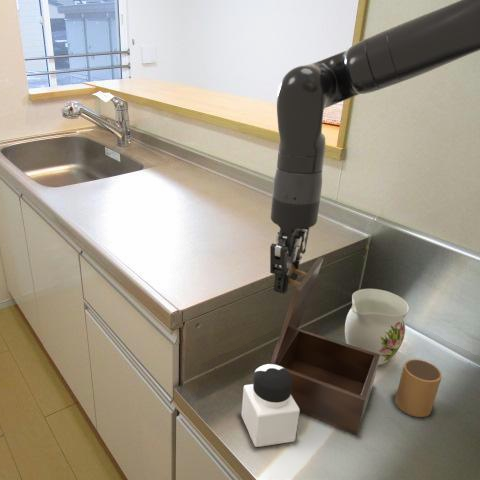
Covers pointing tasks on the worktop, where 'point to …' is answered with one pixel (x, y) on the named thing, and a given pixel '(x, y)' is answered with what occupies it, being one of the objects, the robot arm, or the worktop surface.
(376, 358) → the chest
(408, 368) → the tan cylinder
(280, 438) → the medicine bottle
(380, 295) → the pitcher
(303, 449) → the worktop surface
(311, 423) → the worktop surface
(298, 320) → the lid
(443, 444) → the worktop surface
